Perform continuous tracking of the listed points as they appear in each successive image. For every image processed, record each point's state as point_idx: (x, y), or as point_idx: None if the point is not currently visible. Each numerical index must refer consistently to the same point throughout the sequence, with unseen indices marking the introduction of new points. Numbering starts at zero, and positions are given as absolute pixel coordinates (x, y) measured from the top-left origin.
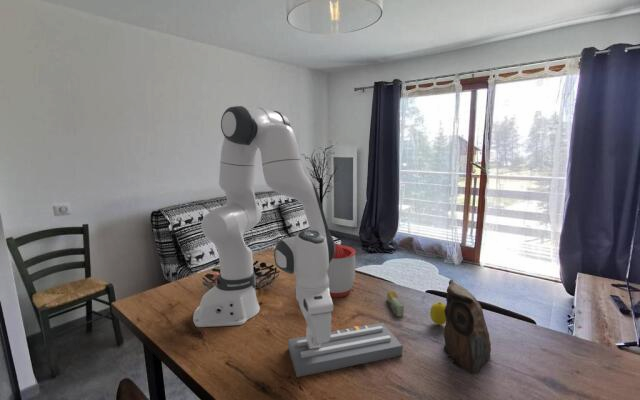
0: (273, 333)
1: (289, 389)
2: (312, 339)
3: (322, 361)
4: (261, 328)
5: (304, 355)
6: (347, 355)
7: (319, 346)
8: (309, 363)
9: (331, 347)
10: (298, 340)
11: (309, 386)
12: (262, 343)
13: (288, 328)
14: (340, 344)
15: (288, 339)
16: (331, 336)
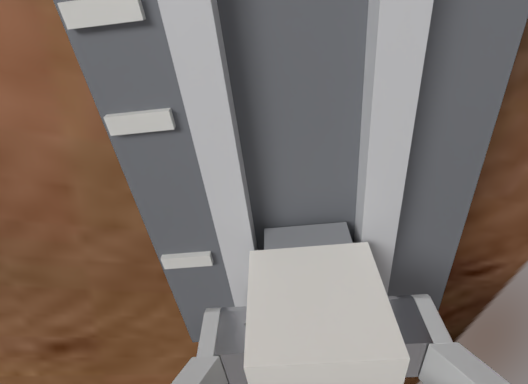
0: (79, 333)
1: (463, 302)
2: (409, 370)
3: (464, 220)
4: (47, 363)
5: None
6: (513, 9)
7: (367, 252)
8: (441, 281)
9: (389, 159)
10: (209, 307)
11: (494, 243)
12: (157, 360)
13: (19, 284)
14: (376, 63)
15: (193, 340)
16: (218, 126)
